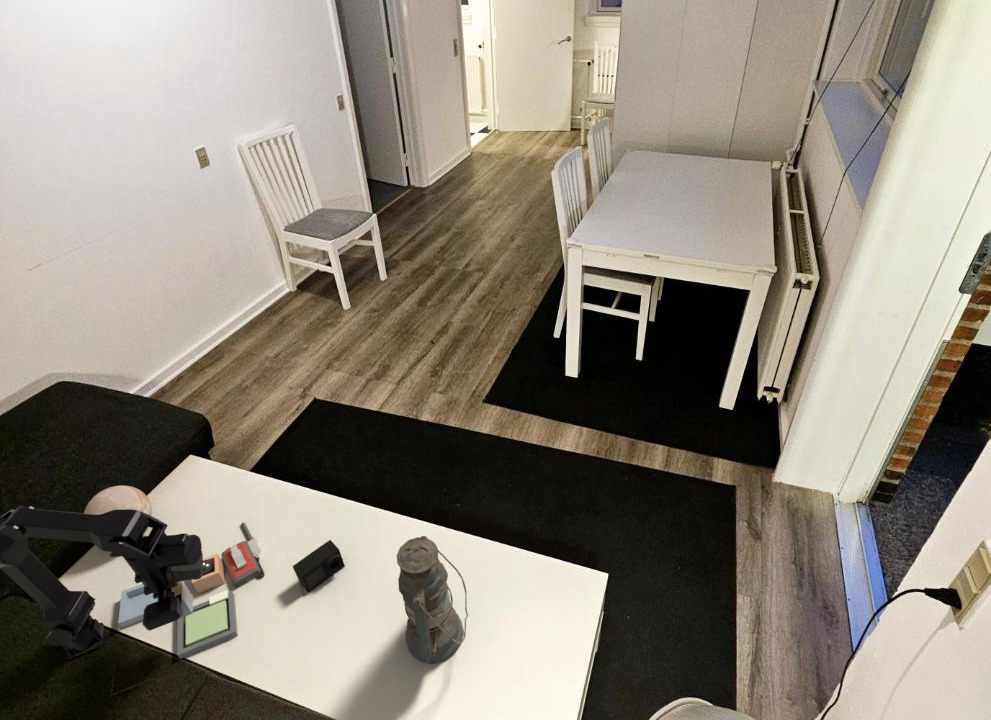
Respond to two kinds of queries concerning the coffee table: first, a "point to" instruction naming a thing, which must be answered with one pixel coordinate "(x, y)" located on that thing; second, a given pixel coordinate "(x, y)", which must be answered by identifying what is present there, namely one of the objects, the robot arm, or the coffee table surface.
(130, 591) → the tray
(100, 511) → the ornament
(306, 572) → the digital camera
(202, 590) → the cup
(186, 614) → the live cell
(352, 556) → the coffee table surface
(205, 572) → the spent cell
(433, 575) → the lantern
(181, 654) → the checker frame
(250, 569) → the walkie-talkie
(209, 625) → the light green square plate
